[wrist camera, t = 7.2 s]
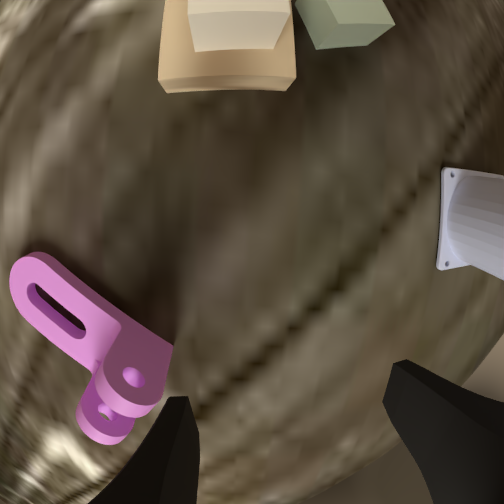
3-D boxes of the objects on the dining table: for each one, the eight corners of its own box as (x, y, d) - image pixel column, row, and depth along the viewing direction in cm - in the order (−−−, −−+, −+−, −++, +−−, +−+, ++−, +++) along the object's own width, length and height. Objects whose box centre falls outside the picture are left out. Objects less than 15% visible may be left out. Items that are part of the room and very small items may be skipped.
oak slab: (279, 6, 13) (289, -17, 11) (283, 92, 15) (296, 77, 12) (174, 7, 13) (168, -16, 10) (168, 94, 15) (157, 80, 12)
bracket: (173, 344, 19) (158, 417, 12) (139, 387, 19) (120, 454, 13) (31, 235, 15) (-33, 265, 9) (13, 291, 16) (-39, 331, 10)
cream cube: (267, -5, 11) (280, -45, 7) (273, 49, 12) (290, 12, 8) (195, -3, 10) (190, -44, 7) (195, 52, 12) (187, 14, 8)
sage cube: (344, 2, 13) (367, -24, 9) (366, 46, 14) (395, 24, 11) (294, 4, 13) (310, -27, 9) (315, 50, 14) (338, 23, 10)
